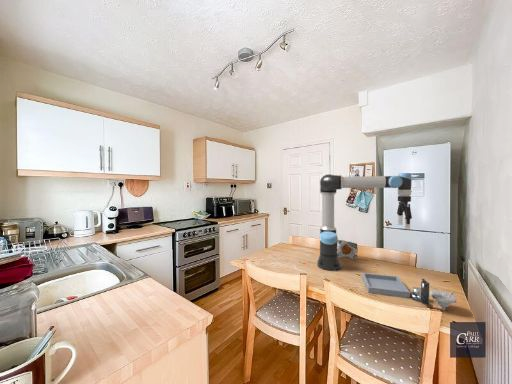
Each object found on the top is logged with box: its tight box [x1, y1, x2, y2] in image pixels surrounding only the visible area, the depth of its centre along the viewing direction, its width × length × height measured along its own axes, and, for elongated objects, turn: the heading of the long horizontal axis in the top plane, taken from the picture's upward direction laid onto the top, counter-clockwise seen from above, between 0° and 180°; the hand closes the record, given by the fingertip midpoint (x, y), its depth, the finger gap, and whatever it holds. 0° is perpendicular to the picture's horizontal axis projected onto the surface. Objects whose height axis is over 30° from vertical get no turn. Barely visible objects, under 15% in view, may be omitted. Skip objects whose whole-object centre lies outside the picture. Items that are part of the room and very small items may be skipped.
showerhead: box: [429, 289, 458, 310], centre depth 100 cm, size 9×7×10 cm
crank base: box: [409, 291, 421, 303], centre depth 108 cm, size 6×6×2 cm
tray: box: [361, 272, 411, 299], centre depth 120 cm, size 19×19×3 cm
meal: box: [337, 239, 359, 261], centre depth 166 cm, size 15×4×13 cm, turn 53°
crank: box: [412, 278, 430, 306], centre depth 104 cm, size 12×4×11 cm, turn 163°
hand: (403, 226), depth 147 cm, fingers open, 13 cm apart
